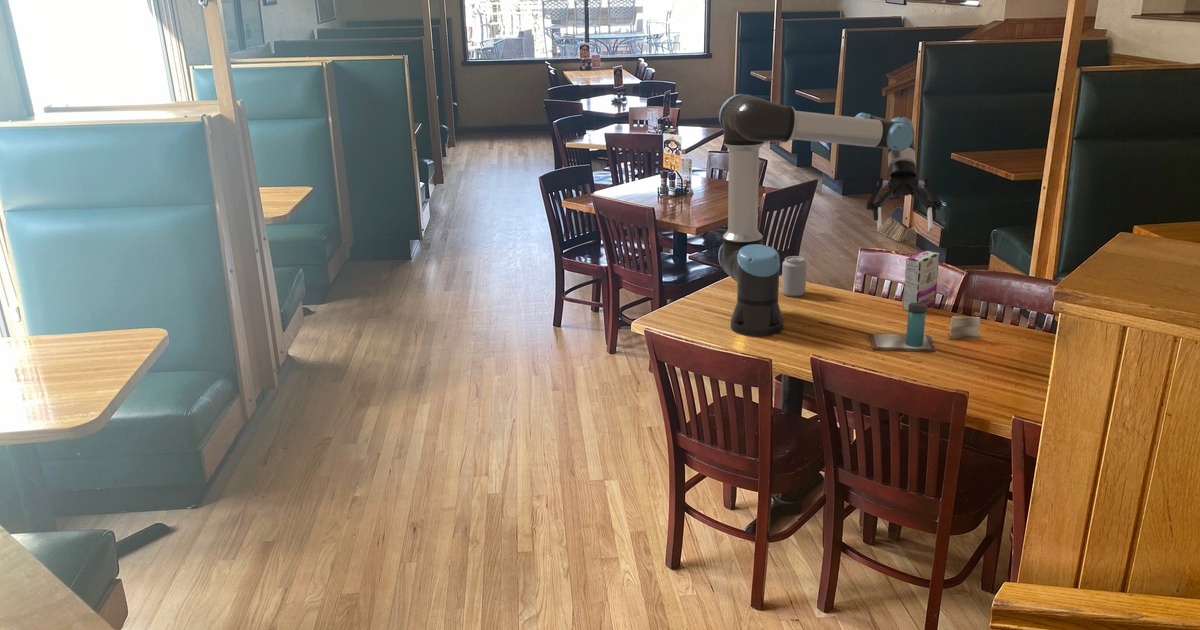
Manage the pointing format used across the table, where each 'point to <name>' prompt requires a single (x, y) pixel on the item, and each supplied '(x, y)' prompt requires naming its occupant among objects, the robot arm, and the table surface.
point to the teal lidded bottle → (916, 324)
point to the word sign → (965, 328)
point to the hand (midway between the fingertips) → (905, 229)
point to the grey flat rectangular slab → (899, 343)
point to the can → (794, 276)
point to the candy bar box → (921, 279)
